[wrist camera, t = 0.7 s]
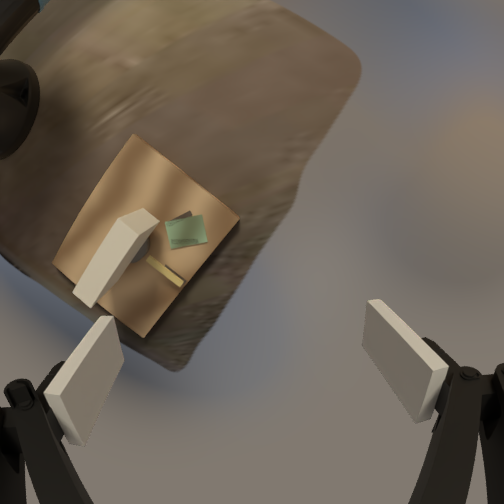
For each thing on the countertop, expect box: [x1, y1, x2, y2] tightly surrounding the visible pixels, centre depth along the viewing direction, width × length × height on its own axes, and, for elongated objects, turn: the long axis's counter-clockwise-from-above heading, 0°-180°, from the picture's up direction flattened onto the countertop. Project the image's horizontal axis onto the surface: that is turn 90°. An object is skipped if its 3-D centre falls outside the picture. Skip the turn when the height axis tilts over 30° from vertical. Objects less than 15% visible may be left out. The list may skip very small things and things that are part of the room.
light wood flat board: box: [52, 134, 240, 338], centre depth 37 cm, size 16×20×2 cm
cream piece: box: [72, 208, 184, 308], centre depth 32 cm, size 10×9×10 cm
